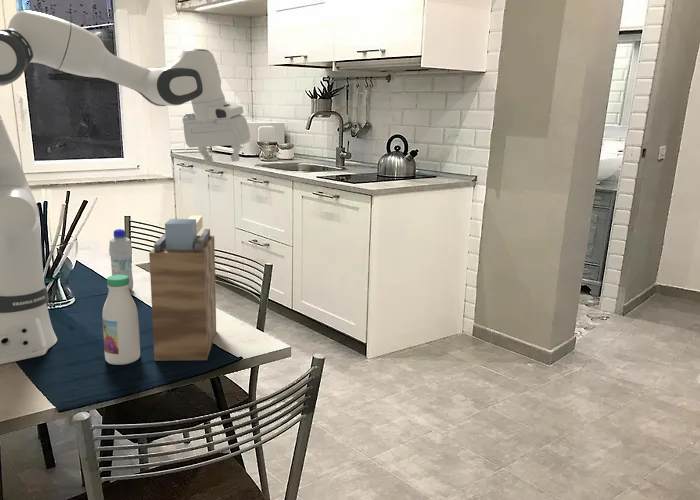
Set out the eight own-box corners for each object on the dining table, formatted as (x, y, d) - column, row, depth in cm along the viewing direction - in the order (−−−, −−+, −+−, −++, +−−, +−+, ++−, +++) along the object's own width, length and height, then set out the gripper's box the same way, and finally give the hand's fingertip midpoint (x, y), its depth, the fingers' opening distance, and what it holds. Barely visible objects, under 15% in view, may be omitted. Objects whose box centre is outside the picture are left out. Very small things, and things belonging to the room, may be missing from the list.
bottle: (107, 291, 182) (103, 229, 178) (127, 286, 187) (124, 226, 183) (118, 296, 178) (114, 232, 173) (138, 291, 183) (135, 229, 178)
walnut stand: (206, 360, 137) (204, 245, 130) (154, 360, 135) (148, 244, 129) (216, 331, 154) (214, 228, 147) (169, 331, 153) (165, 228, 146)
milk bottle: (138, 349, 141) (133, 270, 136) (142, 362, 134) (138, 279, 129) (103, 354, 137) (97, 274, 133) (106, 368, 131) (100, 283, 126)
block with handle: (192, 249, 133) (192, 224, 132) (165, 249, 132) (164, 223, 131) (208, 226, 158) (207, 204, 157) (185, 226, 157) (184, 204, 156)
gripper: (173, 116, 158) (186, 165, 163) (233, 110, 149) (244, 163, 154) (189, 111, 164) (200, 159, 169) (247, 106, 154) (258, 157, 159)
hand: (222, 161), depth 161 cm, fingers open, 8 cm apart
